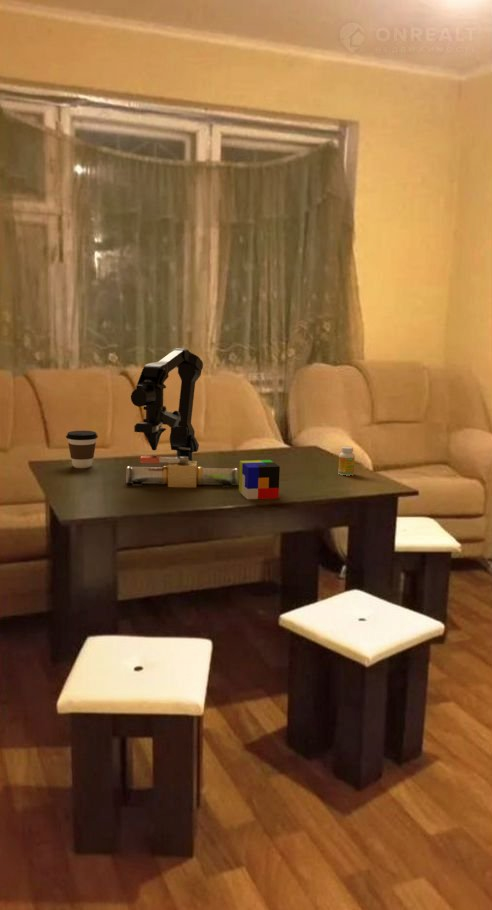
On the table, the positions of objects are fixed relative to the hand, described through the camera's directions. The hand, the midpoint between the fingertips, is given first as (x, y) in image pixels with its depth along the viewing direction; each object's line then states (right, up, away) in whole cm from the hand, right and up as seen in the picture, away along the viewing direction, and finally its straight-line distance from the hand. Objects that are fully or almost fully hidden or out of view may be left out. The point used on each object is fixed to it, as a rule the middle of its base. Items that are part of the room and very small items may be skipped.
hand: (154, 450), depth 262 cm
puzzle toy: (+34, -14, -14) cm, 40 cm away
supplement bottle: (+66, -9, +18) cm, 69 cm away
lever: (+4, -4, -6) cm, 8 cm away
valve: (+10, -11, -4) cm, 15 cm away
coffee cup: (-28, -6, +19) cm, 34 cm away
